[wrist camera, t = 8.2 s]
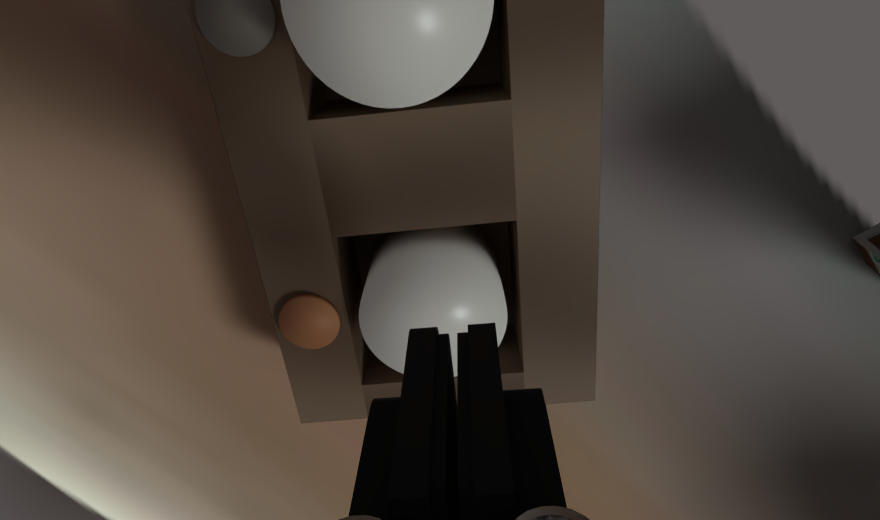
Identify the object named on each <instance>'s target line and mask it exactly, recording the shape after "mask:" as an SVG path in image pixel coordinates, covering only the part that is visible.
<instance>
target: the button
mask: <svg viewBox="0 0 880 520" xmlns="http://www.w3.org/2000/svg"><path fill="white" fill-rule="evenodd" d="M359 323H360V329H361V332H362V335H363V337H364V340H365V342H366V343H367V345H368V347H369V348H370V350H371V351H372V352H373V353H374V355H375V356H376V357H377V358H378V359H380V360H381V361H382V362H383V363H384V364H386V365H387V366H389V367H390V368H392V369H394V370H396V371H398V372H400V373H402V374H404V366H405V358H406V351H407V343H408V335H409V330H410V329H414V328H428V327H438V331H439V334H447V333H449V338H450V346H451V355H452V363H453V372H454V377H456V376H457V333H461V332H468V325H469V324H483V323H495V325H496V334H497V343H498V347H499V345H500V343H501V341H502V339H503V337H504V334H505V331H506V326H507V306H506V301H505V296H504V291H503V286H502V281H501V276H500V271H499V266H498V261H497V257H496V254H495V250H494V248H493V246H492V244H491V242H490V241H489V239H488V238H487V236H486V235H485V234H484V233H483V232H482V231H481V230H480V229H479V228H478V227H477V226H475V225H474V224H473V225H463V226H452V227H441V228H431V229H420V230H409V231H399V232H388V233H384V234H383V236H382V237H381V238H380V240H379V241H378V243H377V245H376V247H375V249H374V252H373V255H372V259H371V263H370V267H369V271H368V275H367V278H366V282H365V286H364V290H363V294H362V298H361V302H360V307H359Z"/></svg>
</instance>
